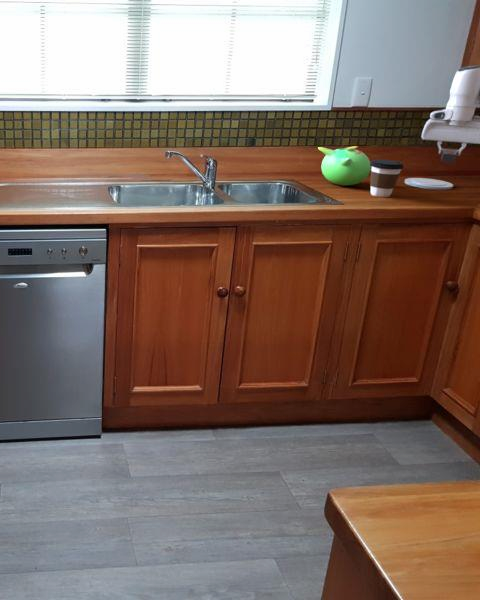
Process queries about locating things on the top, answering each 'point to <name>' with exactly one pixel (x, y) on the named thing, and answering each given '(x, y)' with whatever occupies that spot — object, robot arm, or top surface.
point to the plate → (428, 183)
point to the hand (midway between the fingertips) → (448, 154)
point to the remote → (449, 155)
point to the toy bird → (345, 165)
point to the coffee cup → (384, 176)
